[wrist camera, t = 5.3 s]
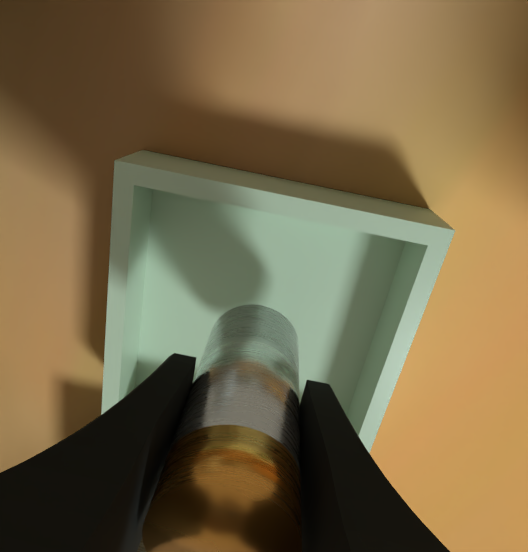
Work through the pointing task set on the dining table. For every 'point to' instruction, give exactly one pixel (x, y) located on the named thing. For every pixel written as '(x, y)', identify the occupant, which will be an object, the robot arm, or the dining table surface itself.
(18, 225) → the dining table surface
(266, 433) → the pin
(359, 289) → the tray
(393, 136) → the dining table surface
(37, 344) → the dining table surface
